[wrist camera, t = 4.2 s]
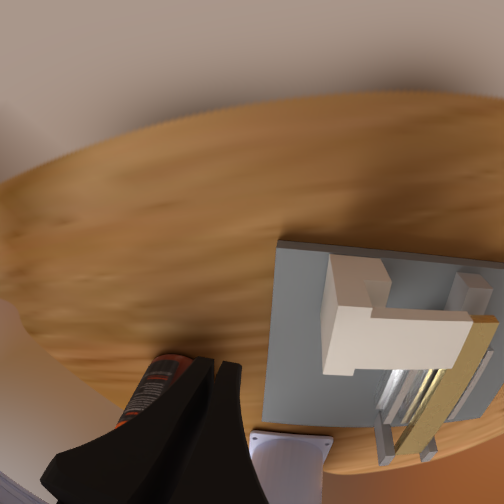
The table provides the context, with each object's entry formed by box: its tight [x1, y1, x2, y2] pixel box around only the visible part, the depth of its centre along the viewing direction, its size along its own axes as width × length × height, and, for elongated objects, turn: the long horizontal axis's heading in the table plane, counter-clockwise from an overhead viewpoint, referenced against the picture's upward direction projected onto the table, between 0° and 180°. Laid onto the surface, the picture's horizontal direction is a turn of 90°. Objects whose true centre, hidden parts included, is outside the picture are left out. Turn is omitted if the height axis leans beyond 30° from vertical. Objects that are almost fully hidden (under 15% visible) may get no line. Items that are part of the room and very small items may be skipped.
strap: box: [394, 315, 499, 455], centre depth 16 cm, size 13×2×1 cm, turn 178°
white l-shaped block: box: [320, 254, 474, 376], centre depth 15 cm, size 4×7×5 cm, turn 88°
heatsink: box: [373, 344, 494, 424], centre depth 18 cm, size 7×7×3 cm
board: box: [262, 240, 504, 466], centre depth 18 cm, size 16×22×6 cm
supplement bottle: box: [115, 354, 215, 429], centre depth 20 cm, size 6×6×11 cm
